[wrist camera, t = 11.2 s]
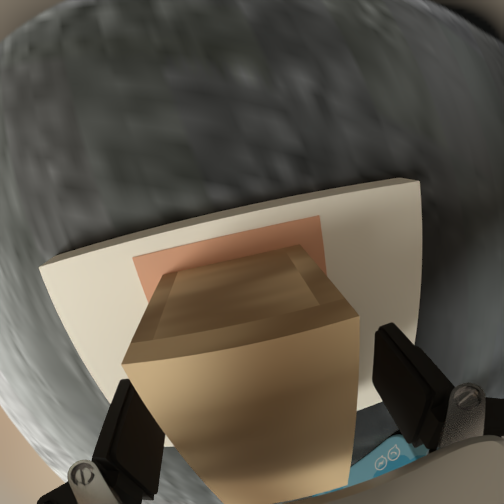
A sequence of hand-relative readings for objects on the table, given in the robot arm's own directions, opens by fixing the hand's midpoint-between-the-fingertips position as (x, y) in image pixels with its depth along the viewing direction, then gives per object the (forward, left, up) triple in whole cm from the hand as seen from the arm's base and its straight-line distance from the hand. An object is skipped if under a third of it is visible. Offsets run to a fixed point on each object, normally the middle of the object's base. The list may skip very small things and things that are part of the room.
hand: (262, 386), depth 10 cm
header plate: (0, 0, -3) cm, 3 cm away
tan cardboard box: (0, 0, -2) cm, 2 cm away
